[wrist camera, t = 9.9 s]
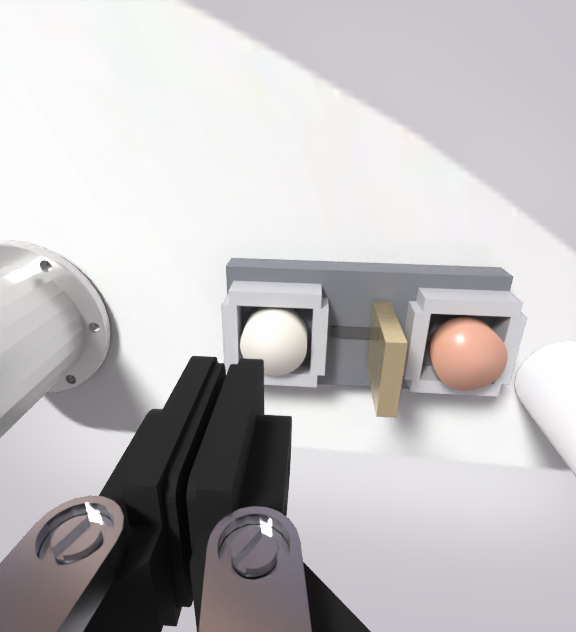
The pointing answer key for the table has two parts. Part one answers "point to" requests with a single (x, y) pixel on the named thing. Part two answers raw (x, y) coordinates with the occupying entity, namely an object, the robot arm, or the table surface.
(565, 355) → the can
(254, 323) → the cream button
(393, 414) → the thick plank
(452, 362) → the terracotta button
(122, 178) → the table surface
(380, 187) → the table surface
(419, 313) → the panel
